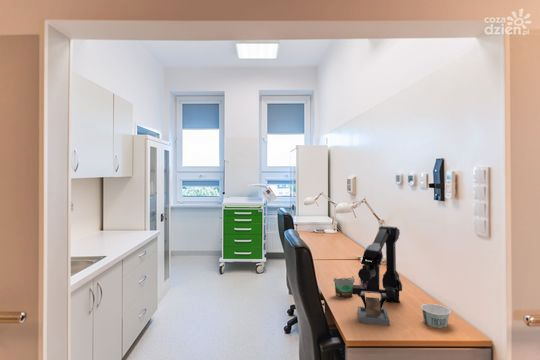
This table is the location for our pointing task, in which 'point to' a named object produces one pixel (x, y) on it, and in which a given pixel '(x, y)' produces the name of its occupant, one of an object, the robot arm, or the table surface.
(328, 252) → the table surface
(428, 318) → the food container
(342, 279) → the food container
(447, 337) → the table surface
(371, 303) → the cube
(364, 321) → the tray
